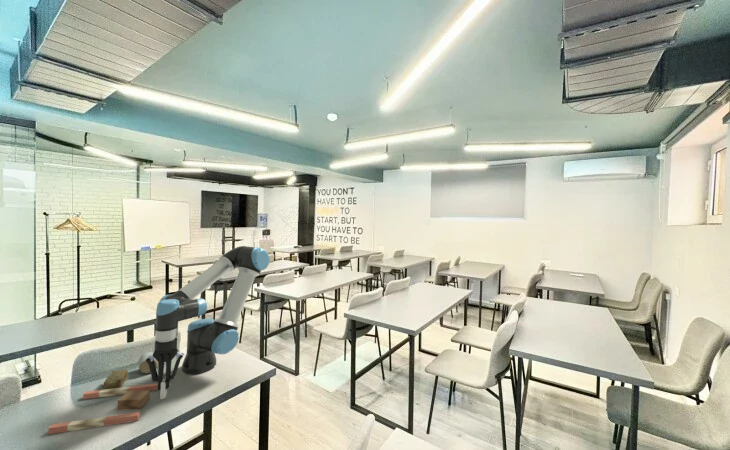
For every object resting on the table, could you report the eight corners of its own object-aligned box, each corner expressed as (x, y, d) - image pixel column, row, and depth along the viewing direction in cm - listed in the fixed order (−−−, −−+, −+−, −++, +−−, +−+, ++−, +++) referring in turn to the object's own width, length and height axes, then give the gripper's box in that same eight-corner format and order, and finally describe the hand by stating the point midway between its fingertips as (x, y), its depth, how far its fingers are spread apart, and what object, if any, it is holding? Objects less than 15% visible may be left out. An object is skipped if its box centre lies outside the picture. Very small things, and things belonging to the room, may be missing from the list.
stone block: (101, 394, 120) (102, 382, 120) (111, 380, 130) (112, 369, 130) (119, 391, 122) (120, 380, 122) (128, 378, 133) (128, 367, 133)
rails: (130, 391, 123) (130, 386, 123) (103, 425, 102) (103, 420, 102) (101, 394, 120) (101, 389, 120) (67, 431, 99) (67, 425, 99)
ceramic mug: (138, 376, 134) (139, 359, 134) (138, 369, 141) (139, 353, 141) (166, 370, 141) (167, 354, 141) (164, 363, 147) (165, 348, 147)
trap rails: (158, 387, 126) (158, 383, 126) (137, 420, 106) (138, 415, 106) (85, 396, 118) (86, 391, 118) (48, 434, 97) (48, 428, 97)
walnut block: (149, 400, 118) (149, 390, 118) (140, 409, 112) (140, 399, 112) (127, 401, 117) (128, 391, 117) (117, 410, 111) (117, 400, 111)
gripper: (187, 334, 123) (184, 389, 123) (150, 336, 119) (147, 394, 119) (182, 340, 116) (179, 399, 116) (143, 343, 112) (140, 404, 112)
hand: (163, 396), depth 118 cm, fingers closed
